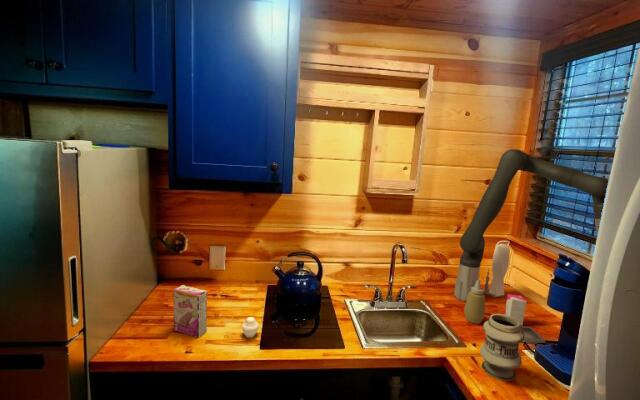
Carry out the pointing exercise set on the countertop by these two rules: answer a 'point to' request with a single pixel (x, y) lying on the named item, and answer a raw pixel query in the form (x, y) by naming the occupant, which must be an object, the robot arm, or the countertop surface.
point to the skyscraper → (498, 270)
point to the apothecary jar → (501, 346)
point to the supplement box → (515, 307)
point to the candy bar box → (190, 310)
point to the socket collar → (531, 336)
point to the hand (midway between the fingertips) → (618, 272)
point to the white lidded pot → (250, 327)
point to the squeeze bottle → (475, 304)
